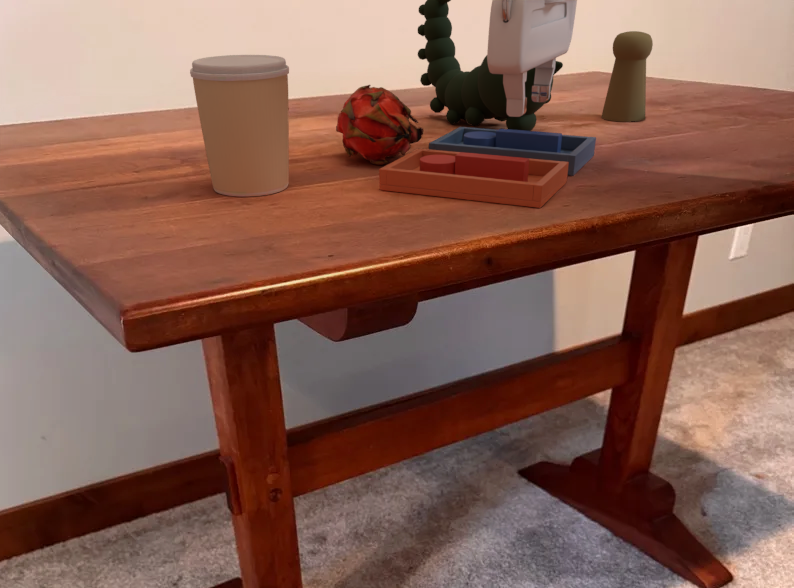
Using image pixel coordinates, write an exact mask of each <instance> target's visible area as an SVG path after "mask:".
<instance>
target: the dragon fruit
mask: <svg viewBox="0 0 794 588" xmlns="http://www.w3.org/2000/svg"><path fill="white" fill-rule="evenodd" d="M410 119H411V121H412V122H414V123H416V124H419V121H418V120H417V119H416V118H414V116H412V110H411V108H410V107H408V105H406V103H404V102H403V101H401V100H400V98H399V97H398V96H397V95H396V94H394V93H393V92H392V91H390V90H388V89H387V88H384V87H382V86H381V87H375V86H372V87H371V84H367V85H363V86H360V87H358V88H357V89H356V90H355V91H354V92H353V93H351V95H350V96H349V97H348V98H347V100H346V101H345V102H344V104H343V107H342V109H341V110H340V112H339V113H338V115H337V123H336V126H335V132H337V133H340V134H342V140H341V141H342V146H343V148H344V151H345V154H346V155H347V156H348V157H352V156H356V155H358V154H360V156H362V157H363V158H364V159H365V160H367V161H369V162H370V164H373V165H378V166H381V165H388V164H390V163H391V162H389V161H388V160H386V158H396V157H397V156H399V155H400V154H401V155H402V156H405V155H406V154H407V152H408V151H409V150H411V146H412V145H413V144H416V143H418V142H420V141H421V140H422V138H423V134H424V128H423V127H419V128H418V127H416V126H414V125H413V124H412V123H411V122H410Z"/></svg>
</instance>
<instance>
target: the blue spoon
mask: <svg viewBox="0 0 794 588" xmlns="http://www.w3.org/2000/svg"><path fill="white" fill-rule="evenodd" d="M496 130H497V131H496V133H493V132H484V131H476V132H468V133H465V134H464V138H463V144H464V145H475V146H487V147H499V148H510V149H522V150H533V151H545V152H557V153H560V151H561V141H562V135H563V133H561V132H551V131H536V130H531V131H525V130H512V129H508V128H499V129H496Z"/></svg>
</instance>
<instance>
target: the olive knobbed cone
mask: <svg viewBox="0 0 794 588" xmlns="http://www.w3.org/2000/svg"><path fill="white" fill-rule="evenodd" d="M653 44H654V43H653V38H652V36H651V35H650V34H649V33H647V32H643V31H639V30H637V31H636V30H632V31H631V30H630V31H624V32H620V33H618V34H617V35H616V36H615V37H614V40H613V43H612V54H613V57H614V58H615V59H614V63H613V66H612V67H613V68H612V72H611V75H610V80H609V83H608V88H607V92H606V95H605V100H604V104H603V109H602V112H601V115H600V117H601V119H603V120H605V121H611V122H620V123H621V122H622V123H631V121H635V122H641V121H640V120H642V121H645V120H646V106H647V105H646V103H647V102H646V99H647V98H646V97H647V95H646V93H647V92H646V91H647V59H648V58H649V56H651V53H652V50H653V46H654V45H653Z"/></svg>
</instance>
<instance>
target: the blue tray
mask: <svg viewBox="0 0 794 588" xmlns="http://www.w3.org/2000/svg"><path fill="white" fill-rule="evenodd" d="M497 130H498V129H495V128H494V129H493V128H482V127H468V126H458V127H457V128H455V129H453V130H451V131H449V132H447V133H445V134H444V135H442V136H440V137H437V138H435V139H434V140H432V141H430V142H429V143H428V149H431V150H442V151H453V152H465V153H476V154H487V155H498V156H509V157H520V158H531V159H542V160H553V161H564V162H569V165H568V174H567V176H570V177H571V176H572V177H574V176H575V175H576V174H578V172H579V171H580V170H581V169H582V168H583V167H584V166H585V165H586V164H587V163H588V162H589V161H590V160H591V159H593V157H594V156H595V150H596V143H597V137H596V136H585V135H584V136H583V135H571V134H562V141H561V151H560V153H557V152H545V151H533V150H522V149H510V148H499V147H487V146H475V145H464V144H463V138H464V134H465V133H468V132H476V131H484V132H493V133H496V131H497Z"/></svg>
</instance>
